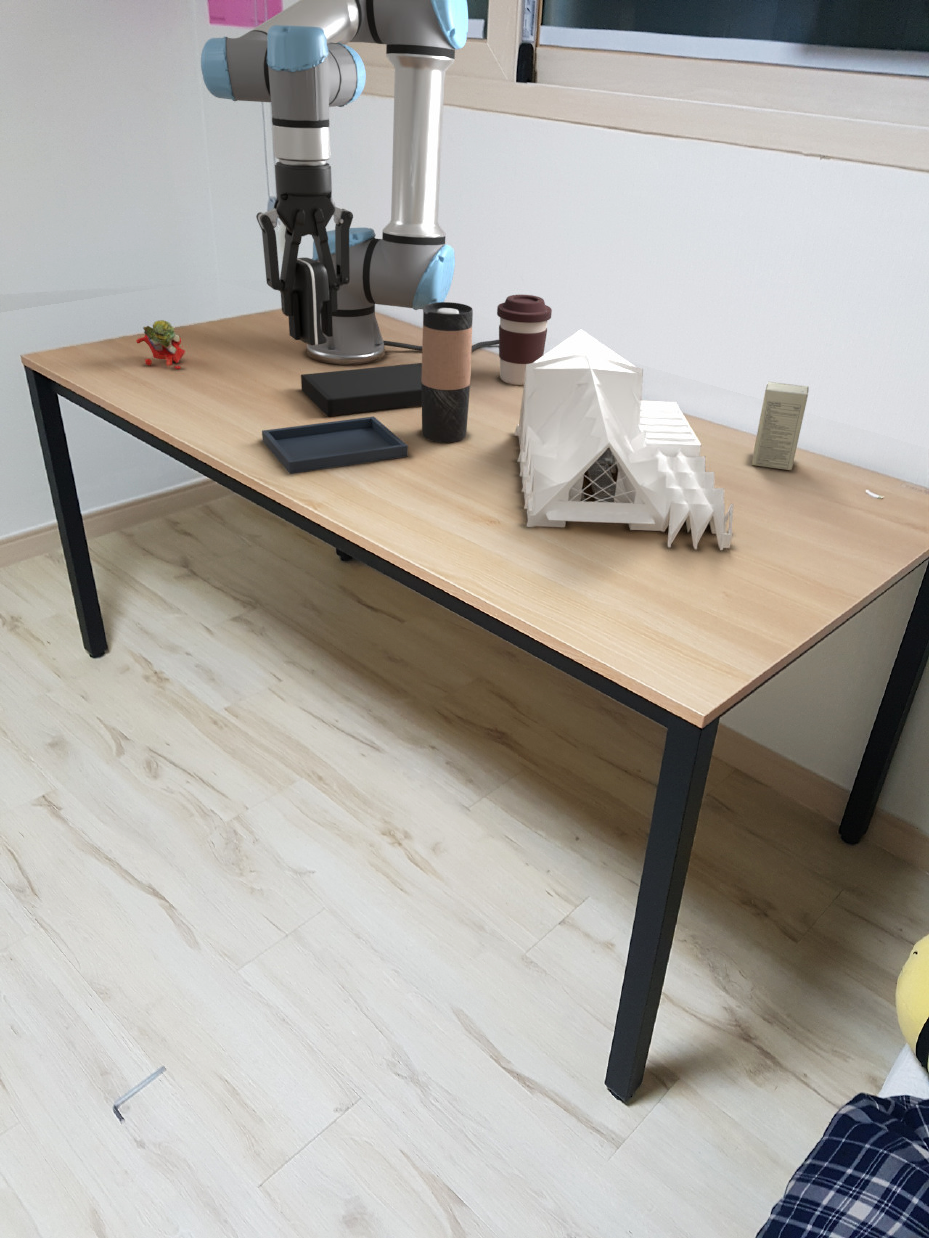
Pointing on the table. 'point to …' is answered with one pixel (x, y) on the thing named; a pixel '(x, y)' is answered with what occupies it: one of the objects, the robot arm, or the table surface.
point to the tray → (333, 444)
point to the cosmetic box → (780, 425)
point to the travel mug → (446, 370)
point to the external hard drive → (364, 389)
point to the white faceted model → (638, 440)
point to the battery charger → (311, 298)
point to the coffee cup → (521, 335)
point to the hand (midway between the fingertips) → (311, 335)
